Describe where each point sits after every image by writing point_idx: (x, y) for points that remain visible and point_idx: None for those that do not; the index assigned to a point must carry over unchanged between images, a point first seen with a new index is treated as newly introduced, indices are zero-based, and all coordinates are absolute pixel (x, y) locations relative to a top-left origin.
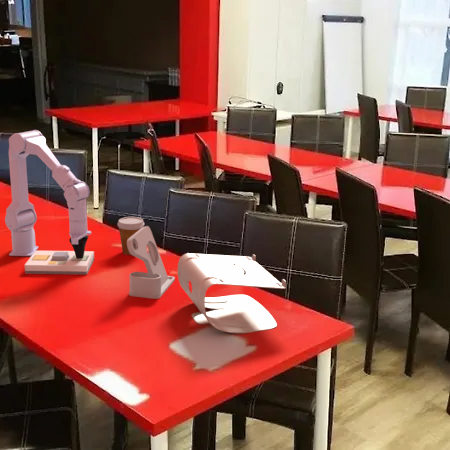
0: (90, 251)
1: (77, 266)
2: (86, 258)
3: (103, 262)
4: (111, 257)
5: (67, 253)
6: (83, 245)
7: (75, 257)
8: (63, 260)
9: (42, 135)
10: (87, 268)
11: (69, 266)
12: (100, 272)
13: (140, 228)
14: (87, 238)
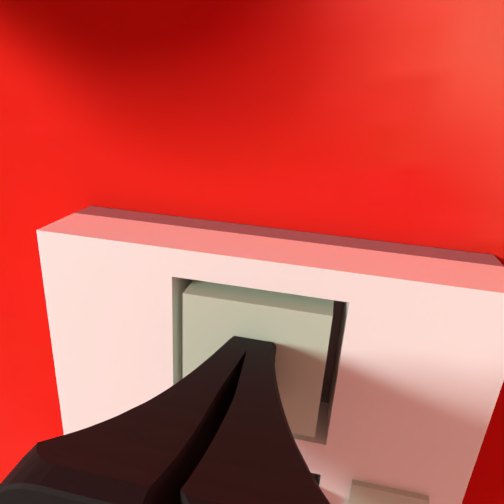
0: (47, 265)
1: (496, 385)
2: (258, 300)
3: (155, 109)
4: (12, 35)
5: None
6: (307, 477)
7: None
8: None
9: None
10: (465, 268)
11: (474, 453)
12: (456, 115)
13: None
14: (143, 495)
